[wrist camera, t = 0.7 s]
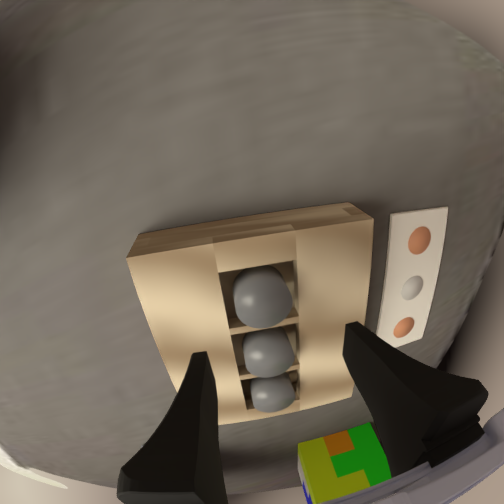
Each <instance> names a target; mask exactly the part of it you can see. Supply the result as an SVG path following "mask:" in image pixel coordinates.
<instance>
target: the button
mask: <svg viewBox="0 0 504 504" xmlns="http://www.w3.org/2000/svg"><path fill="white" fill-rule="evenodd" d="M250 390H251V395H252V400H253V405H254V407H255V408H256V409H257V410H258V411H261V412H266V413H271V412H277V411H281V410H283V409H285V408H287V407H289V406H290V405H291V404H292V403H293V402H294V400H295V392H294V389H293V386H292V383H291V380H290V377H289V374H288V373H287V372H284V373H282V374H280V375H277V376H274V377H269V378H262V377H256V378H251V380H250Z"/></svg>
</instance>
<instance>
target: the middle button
mask: <svg viewBox="0 0 504 504" xmlns="http://www.w3.org/2000/svg"><path fill="white" fill-rule="evenodd" d="M242 347H243V353H244V359H245V364H246V368H247V370H248V371H249V372H250V373H251V374H252V375H254V376H257V377H262V378H269V377H274V376H277V375H280V374H282V373H284V372H285V371H287V370H288V369H289V368H290V367H291V366H292V364H293V362H294V359H295V355H294V352H293V349H292V346H291V344H290V341H289V338H288V336H287V333H286V331H285V330H284V329H283V328H282V327H280V326H278V327H273V328H267V329H262V330H256V331H251V332H247V333H246V334H245V335H244V337H243V340H242Z"/></svg>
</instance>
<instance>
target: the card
mask: <svg viewBox="0 0 504 504" xmlns="http://www.w3.org/2000/svg"><path fill="white" fill-rule="evenodd" d="M447 214H448V207H438V208H430V209H422V210H414V211H407V212H399V213H392V214H390V224H389V238H388V249H387V260H386V269H385V278H384V285H383V293H382V300H381V307H380V313H379V319H378V325H377V330H376V335H377V336H378V337H380V338H381V339H382V340H384V341H385V342H387V343H388V344H390V345H391V346H393V347H394V348H395V347H398V346H401V345H404V344H407V343H410V342H412V341H415V340H418V339H420V338H422V336H423V333H424V329H425V326H426V322H427V318H428V315H429V311H430V307H431V303H432V299H433V295H434V290H435V286H436V281H437V277H438V272H439V267H440V261H441V256H442V250H443V244H444V237H445V230H446V223H447Z"/></svg>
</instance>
